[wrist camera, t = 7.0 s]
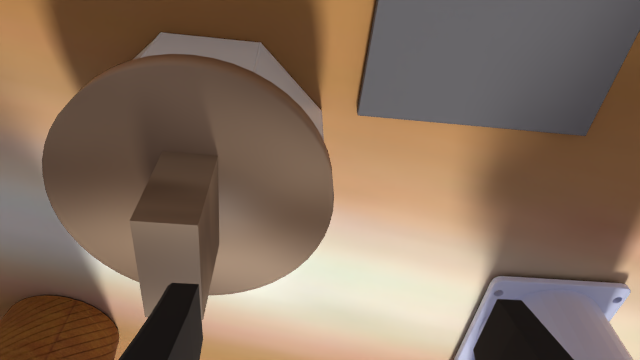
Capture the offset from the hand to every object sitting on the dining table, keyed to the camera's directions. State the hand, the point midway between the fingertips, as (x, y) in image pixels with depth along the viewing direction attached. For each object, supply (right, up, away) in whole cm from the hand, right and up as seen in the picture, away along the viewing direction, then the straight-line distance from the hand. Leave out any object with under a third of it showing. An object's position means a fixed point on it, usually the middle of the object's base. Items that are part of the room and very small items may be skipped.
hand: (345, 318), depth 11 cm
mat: (+6, +10, +6) cm, 13 cm away
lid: (-5, +3, +6) cm, 8 cm away
